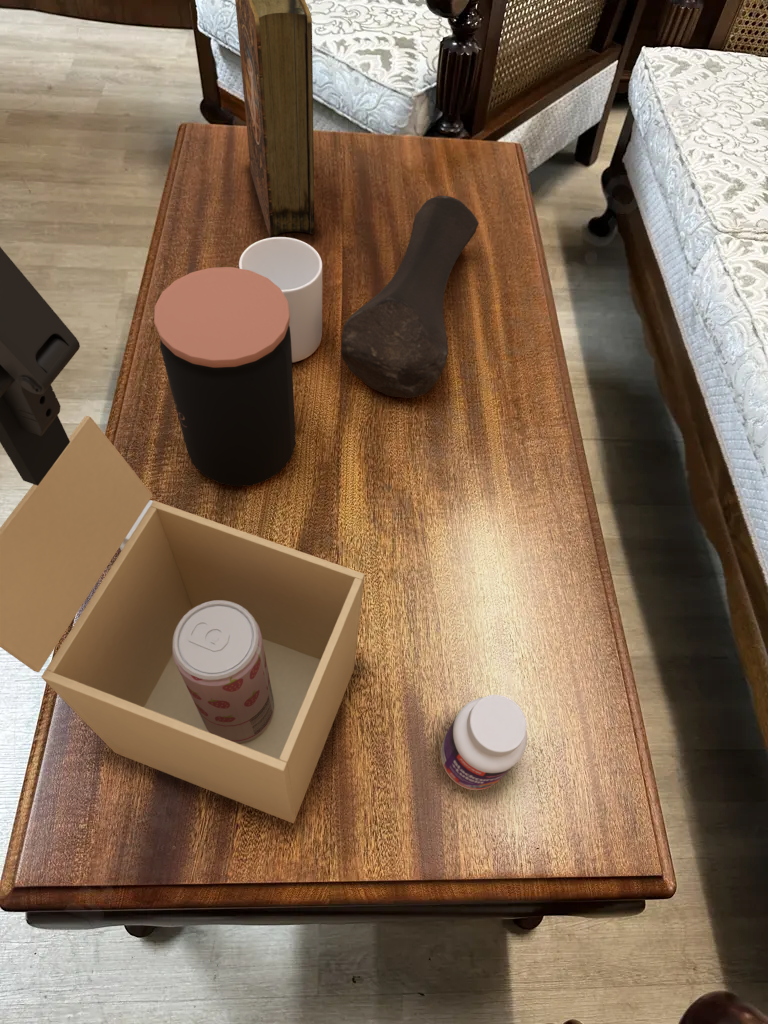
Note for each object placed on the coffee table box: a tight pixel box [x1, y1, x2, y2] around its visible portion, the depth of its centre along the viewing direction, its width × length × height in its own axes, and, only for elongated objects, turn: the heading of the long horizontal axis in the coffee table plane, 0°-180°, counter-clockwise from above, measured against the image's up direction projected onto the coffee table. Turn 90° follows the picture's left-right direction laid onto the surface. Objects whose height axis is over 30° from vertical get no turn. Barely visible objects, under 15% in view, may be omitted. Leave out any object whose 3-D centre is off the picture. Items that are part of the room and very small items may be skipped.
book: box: [234, 0, 315, 238], centre depth 83 cm, size 16×6×25 cm, turn 15°
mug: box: [238, 236, 323, 363], centre depth 76 cm, size 12×8×10 cm
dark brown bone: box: [340, 195, 480, 399], centre depth 81 cm, size 11×10×28 cm
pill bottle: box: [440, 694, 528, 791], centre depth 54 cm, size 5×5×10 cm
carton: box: [41, 500, 366, 824], centre depth 51 cm, size 15×13×18 cm
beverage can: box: [173, 600, 274, 744], centre depth 51 cm, size 6×6×15 cm
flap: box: [0, 415, 154, 673], centre depth 41 cm, size 7×13×1 cm
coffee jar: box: [153, 266, 297, 487], centre depth 65 cm, size 11×11×18 cm
